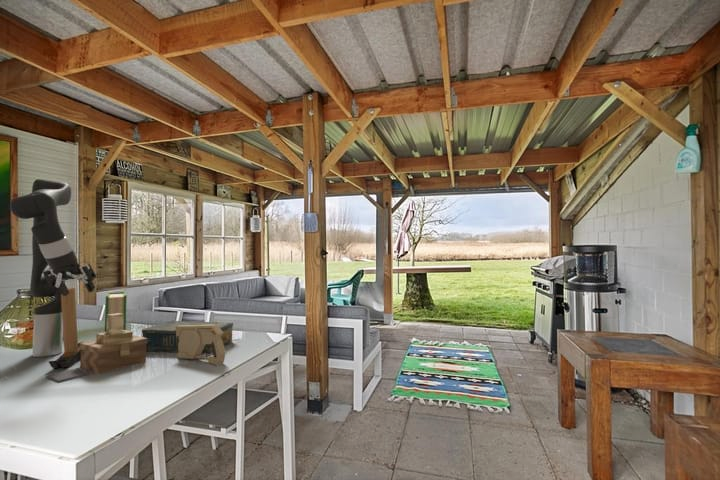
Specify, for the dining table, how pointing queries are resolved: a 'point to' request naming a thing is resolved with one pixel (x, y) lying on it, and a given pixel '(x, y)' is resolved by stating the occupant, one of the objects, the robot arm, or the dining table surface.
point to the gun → (200, 342)
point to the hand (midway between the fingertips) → (79, 292)
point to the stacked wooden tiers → (112, 351)
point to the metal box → (167, 341)
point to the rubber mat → (68, 374)
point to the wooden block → (115, 323)
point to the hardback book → (115, 305)
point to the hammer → (69, 332)
